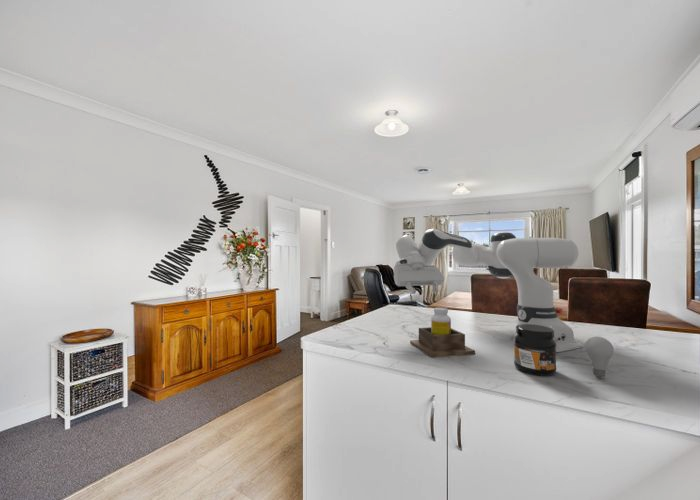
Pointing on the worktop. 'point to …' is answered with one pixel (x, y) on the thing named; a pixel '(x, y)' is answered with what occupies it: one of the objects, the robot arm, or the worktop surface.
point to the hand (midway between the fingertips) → (425, 292)
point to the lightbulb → (599, 354)
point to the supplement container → (535, 349)
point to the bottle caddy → (441, 343)
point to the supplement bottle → (440, 322)
